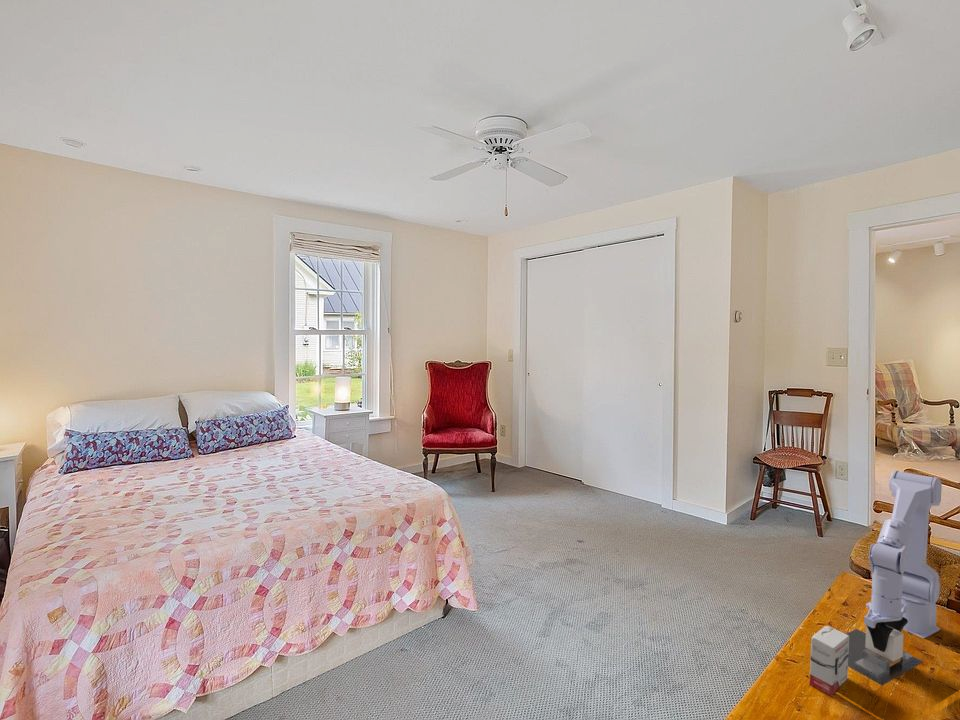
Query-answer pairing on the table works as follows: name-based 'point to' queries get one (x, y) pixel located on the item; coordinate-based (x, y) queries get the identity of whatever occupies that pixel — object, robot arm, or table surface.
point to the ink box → (829, 659)
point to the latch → (891, 661)
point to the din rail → (875, 660)
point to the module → (888, 645)
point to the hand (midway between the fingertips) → (884, 646)
